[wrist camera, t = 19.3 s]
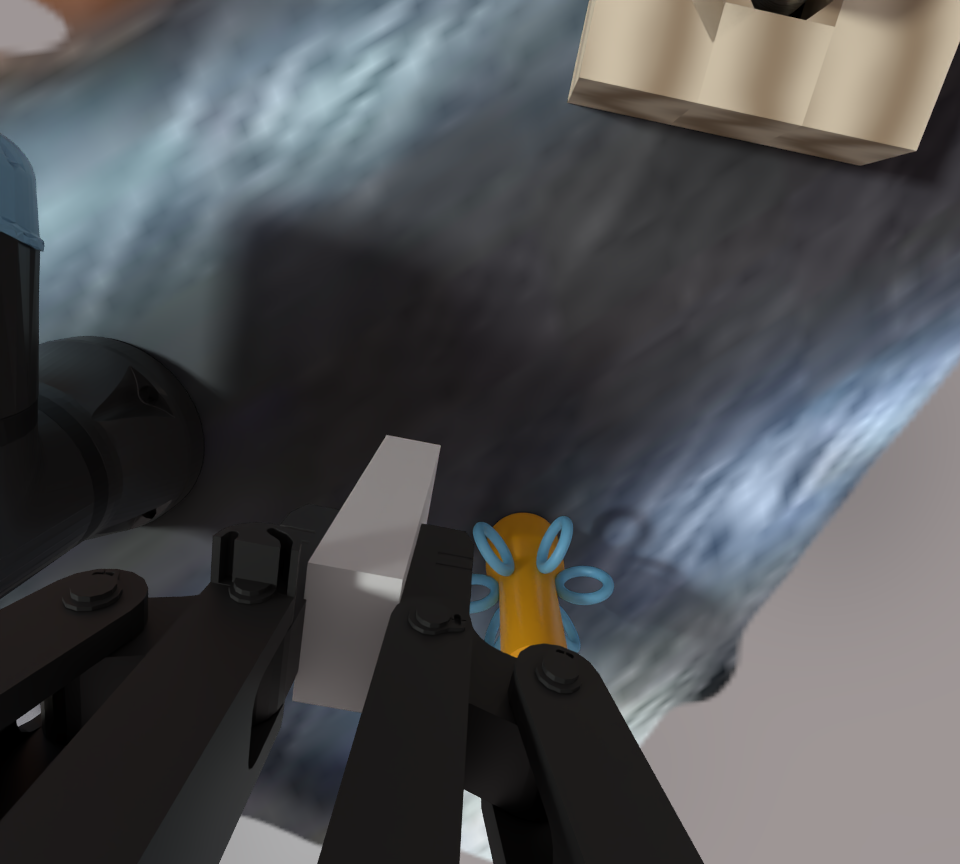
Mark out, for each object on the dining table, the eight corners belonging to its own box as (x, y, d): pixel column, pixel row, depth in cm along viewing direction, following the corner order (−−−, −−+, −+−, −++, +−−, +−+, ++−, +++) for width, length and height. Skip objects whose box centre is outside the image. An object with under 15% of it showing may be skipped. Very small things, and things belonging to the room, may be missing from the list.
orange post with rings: (594, 478, 43) (644, 585, 29) (598, 591, 46) (646, 739, 32) (441, 491, 44) (417, 602, 29) (456, 602, 47) (440, 751, 32)
